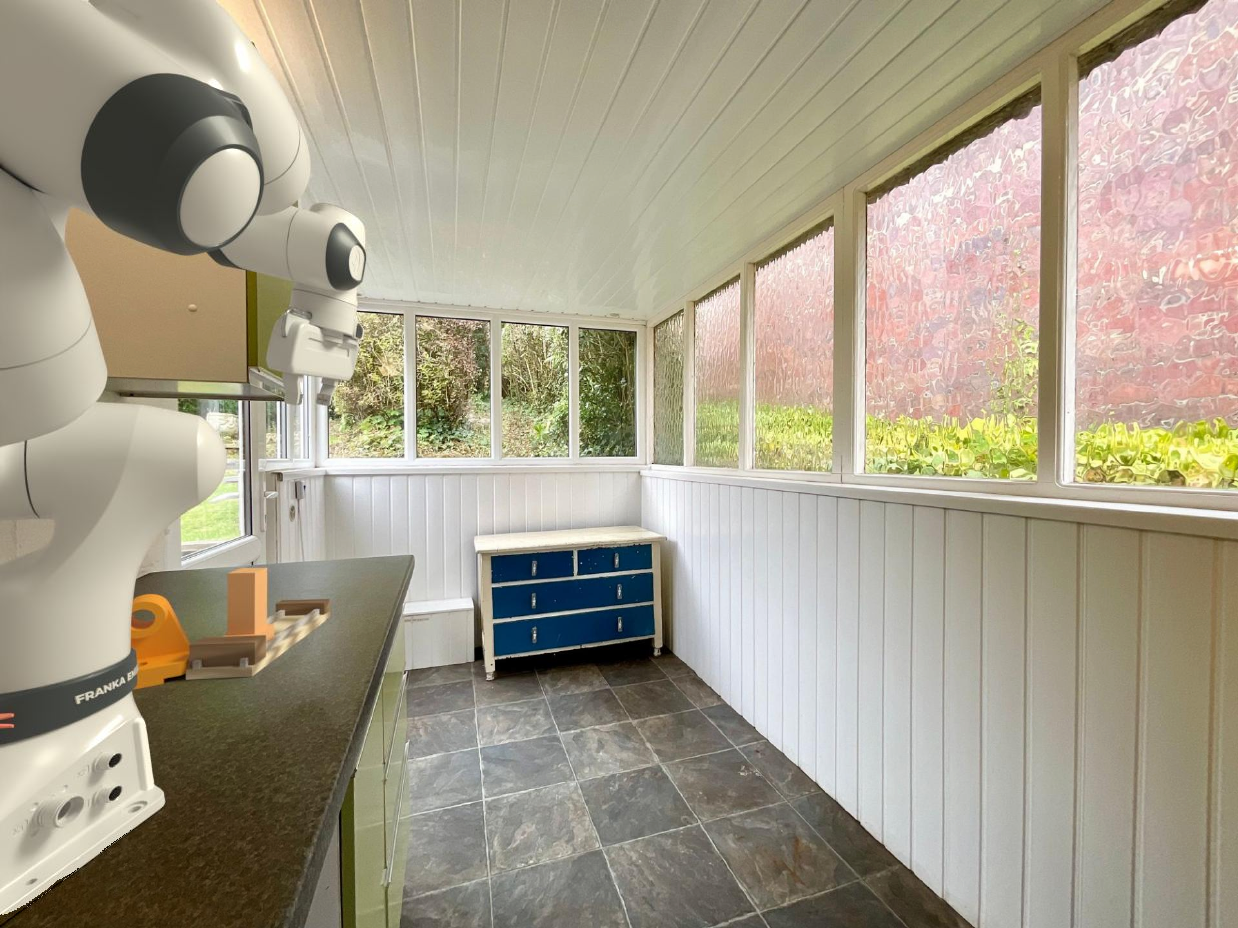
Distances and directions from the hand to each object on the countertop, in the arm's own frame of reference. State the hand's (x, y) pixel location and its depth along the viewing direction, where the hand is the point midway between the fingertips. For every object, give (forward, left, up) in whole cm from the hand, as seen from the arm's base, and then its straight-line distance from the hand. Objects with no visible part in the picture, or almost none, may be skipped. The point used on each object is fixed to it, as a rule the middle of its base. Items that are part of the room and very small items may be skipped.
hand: (308, 404), depth 77 cm
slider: (+4, +11, -40) cm, 42 cm away
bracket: (-2, +22, -42) cm, 48 cm away
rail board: (+11, +11, -42) cm, 45 cm away
